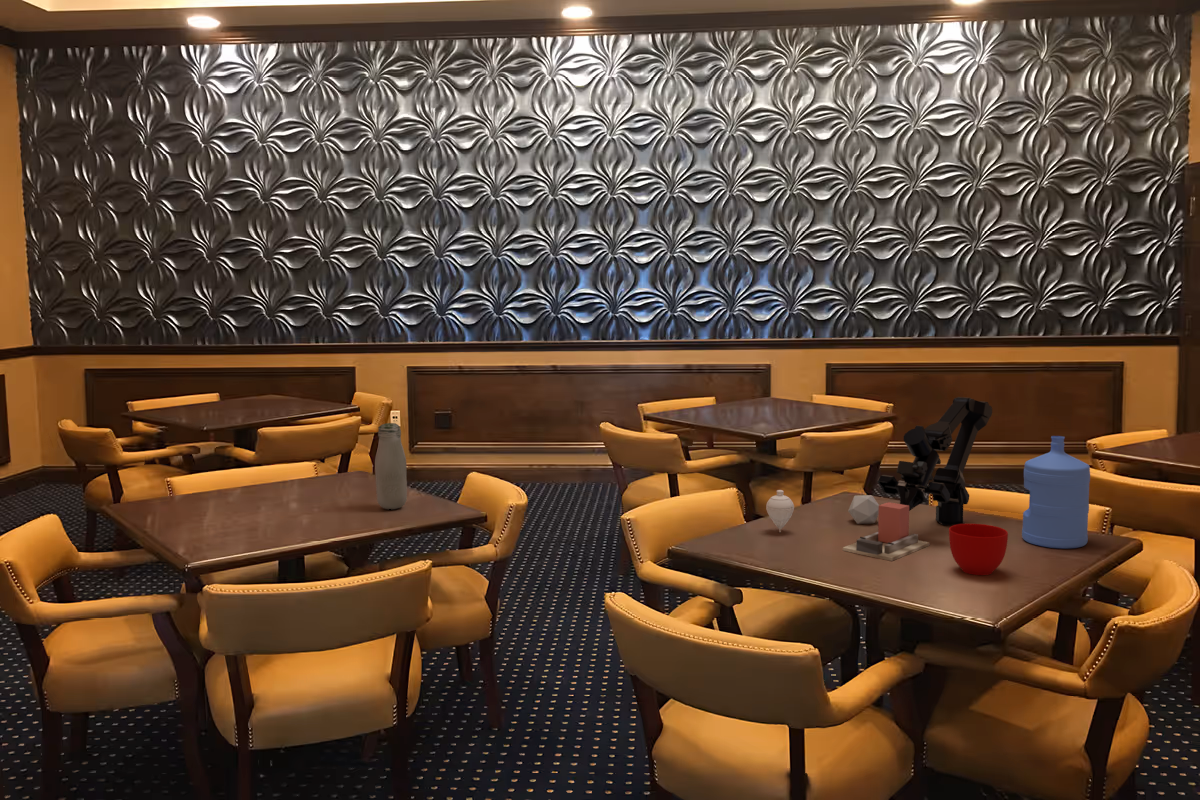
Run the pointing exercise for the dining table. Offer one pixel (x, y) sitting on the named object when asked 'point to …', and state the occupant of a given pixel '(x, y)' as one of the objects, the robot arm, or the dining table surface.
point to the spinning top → (780, 509)
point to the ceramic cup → (978, 547)
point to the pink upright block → (893, 522)
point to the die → (864, 509)
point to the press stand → (886, 547)
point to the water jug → (1056, 499)
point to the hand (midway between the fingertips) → (901, 514)
